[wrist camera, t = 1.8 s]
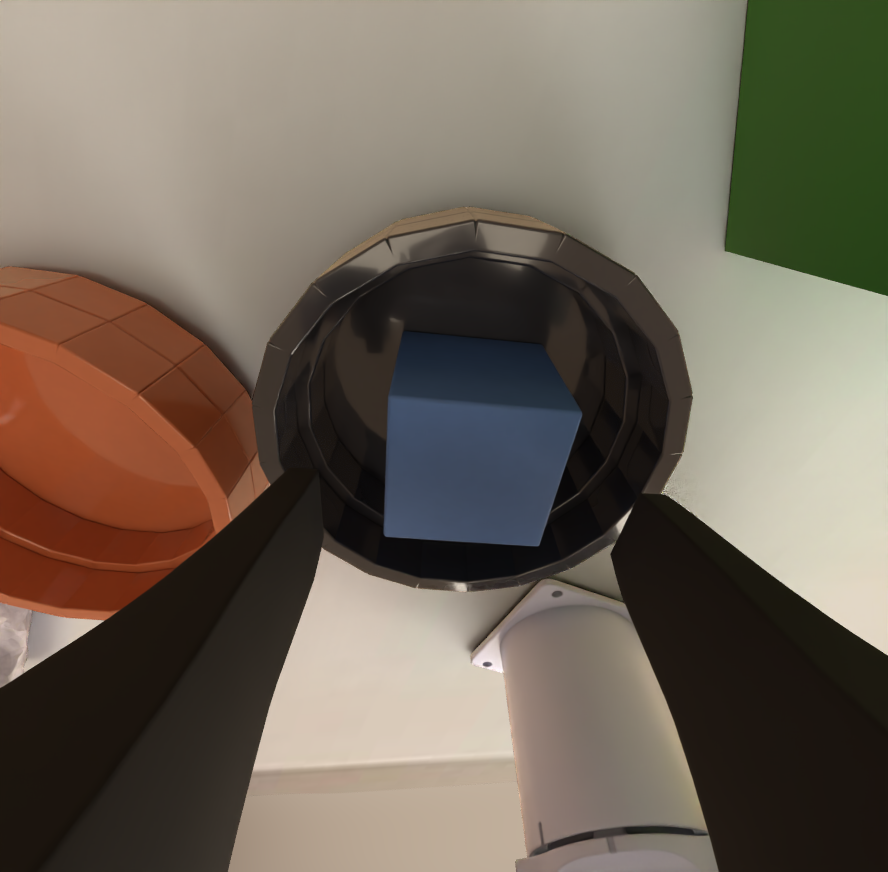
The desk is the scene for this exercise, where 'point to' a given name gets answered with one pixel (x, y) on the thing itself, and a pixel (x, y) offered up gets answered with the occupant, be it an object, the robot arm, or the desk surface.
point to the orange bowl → (109, 445)
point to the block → (475, 440)
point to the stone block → (13, 641)
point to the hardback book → (814, 140)
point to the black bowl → (487, 317)
